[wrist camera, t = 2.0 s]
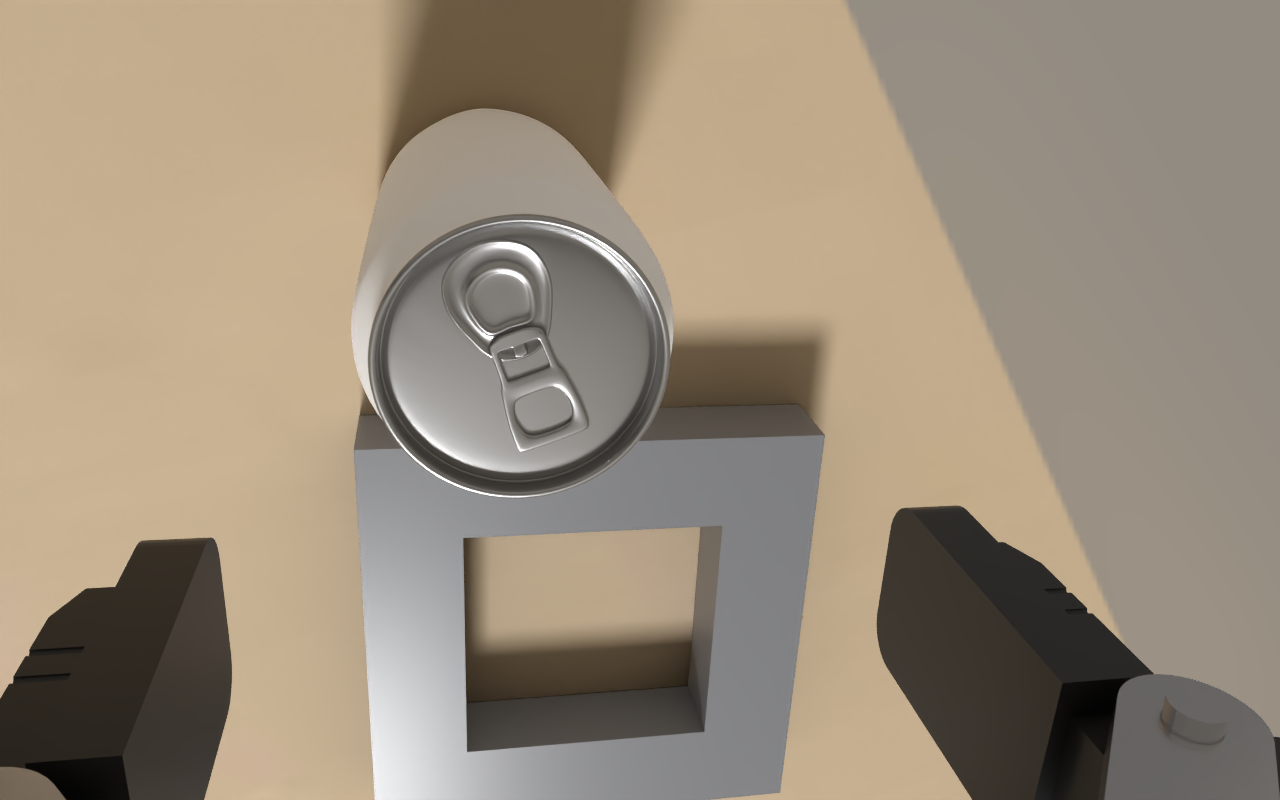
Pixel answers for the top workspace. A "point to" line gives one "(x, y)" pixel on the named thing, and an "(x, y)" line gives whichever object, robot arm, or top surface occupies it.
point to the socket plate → (611, 721)
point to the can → (508, 310)
